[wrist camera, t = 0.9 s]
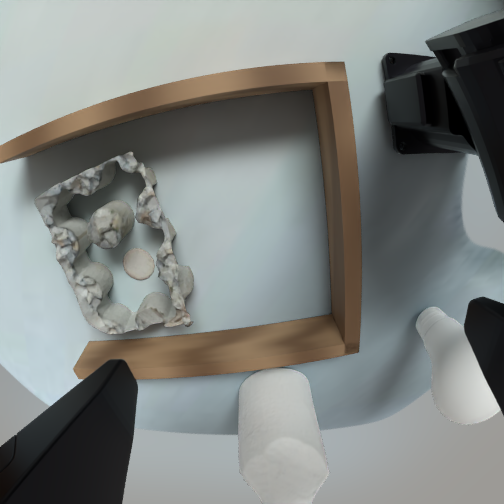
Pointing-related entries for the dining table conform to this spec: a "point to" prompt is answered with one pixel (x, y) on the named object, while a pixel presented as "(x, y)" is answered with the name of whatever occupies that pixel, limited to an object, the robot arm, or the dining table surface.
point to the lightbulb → (455, 370)
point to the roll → (280, 437)
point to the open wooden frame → (338, 221)
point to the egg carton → (109, 236)
